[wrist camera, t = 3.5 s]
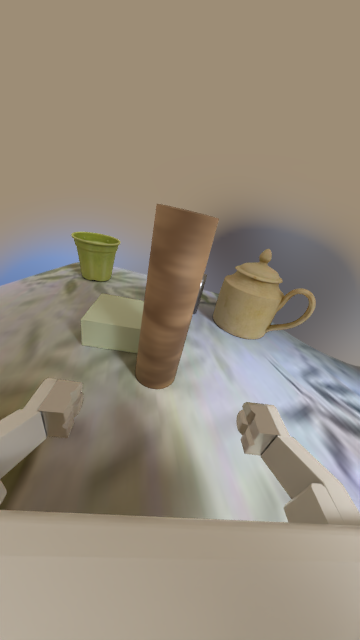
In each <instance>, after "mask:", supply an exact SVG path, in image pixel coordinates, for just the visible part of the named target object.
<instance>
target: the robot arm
mask: <svg viewBox="0 0 360 640" xmlns="http://www.w3.org/2000/svg"><path fill="white" fill-rule="evenodd" d="M82 388H83V383H81V382H75V381H68V380H61V379H54V378H47V379H45V380H44V381H43V382H42V384H41V385H40V386H39V388H38V389H37V391H36V392H35V393H34V395H33V396H32V397H31V399H30V400H29V401H28V403H27V404H26V405H25V407H24V408H23V410H22V409H18V410H17V411H15V412H13V413H12V414H10V415H8V416H7V417H5V418H3V419H2V420H0V479H1V478H2V477H3V476H4V475H5V474H6V473H8V472H9V471H10V470H11V469H12V468H13V467H14V466H16V465H17V464H18V463H19V462H20V461H21V460H22V459H23V458H25V457H26V456H27V455H28V454H29V453H30V452H31V451H33V450H34V449H35V448H36V447H37V446H38V445H39V444H41V443H42V442H43V441H44V440H45V439H46V438H47V437H59V438H68V436H69V434H70V431H71V429H72V427H73V425H74V417H75V416H77V415H78V414H79V412H80V409H81V407H82V403H83V397H84V396H83V393H82V392H81V390H82ZM242 407H243V410H241V411H239V413H238V415H237V420H236V422H237V428H238V431H239V432H240V433H241V434H242V437H241V443H242V446H243V450H244V453H245V454H252V455H260V456H261V458H262V459H263V461H264V462H265V463H266V465H267V466H268V467H269V469H270V470H271V472H272V473H273V474H274V476H275V477H276V478H277V480H278V481H279V483H280V484H281V485H282V487H283V488H284V489H285V491H286V492H287V494H288V495H289V496H290V498H291V499H292V500H290V501H289V502H288V503H287V504H285V506H284V511H285V514H286V516H287V519H288V522H289V523H288V522H265V521H243V520H220V519H198V518H175V517H153V516H130V515H108V514H85V513H63V512H40V511H18V510H0V640H360V513H359V511H358V510H357V508H356V506H355V505H354V503H353V501H352V500H351V498H350V496H349V494H348V493H347V491H346V489H345V488H344V486H343V484H342V483H340V482H339V481H338V480H337V479H336V478H335V477H334V476H333V475H332V474H331V473H330V472H329V471H328V470H327V469H326V468H325V467H324V466H323V465H322V464H321V463H320V462H319V461H317V460H316V459H315V458H314V457H313V456H312V455H311V454H310V453H309V452H308V451H307V450H306V449H305V448H304V447H303V446H302V445H301V444H300V443H299V442H298V441H297V440H295V439H294V438H293V437H290V435H289V433H288V431H287V429H286V427H285V425H284V423H283V421H282V419H281V417H280V415H279V413H278V411H277V409H276V407H275V406H274V405H266V404H259V403H250V402H246V403H244V404H243V406H242ZM6 494H7V492H6V488H5V487H4V485H3V483H2V482H1V480H0V504H1V503H2V501H3V499H4V497H5V496H6Z"/></svg>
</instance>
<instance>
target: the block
mask: <svg viewBox="0 0 360 640" xmlns="http://www.w3.org/2000/svg"><path fill="white" fill-rule="evenodd" d="M143 307H144V301H142V300H136V299H131V298H125V297H120V296H114V295H109V294H103V293H102V294H101V295H100V296H99V297H98V299H97V300H96V301H95V302H94V304H93V305H92V306H91V307H90V309H89V310H88V311H87V312H86V314H85V315H84V316H83V317H82V318H81V336H82V345H84V346H91V347H97V348H104V349H111V350H118V351H125V352H132V353H138V345H139V338H140V330H141V322H142V314H143Z"/></svg>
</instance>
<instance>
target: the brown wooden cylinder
mask: <svg viewBox="0 0 360 640" xmlns="http://www.w3.org/2000/svg"><path fill="white" fill-rule="evenodd" d="M218 221H219V219H218V218H215V217H212V216H208V215H204V214H201V213H197V212H192V211H189V210H184V209H180V208H176V207H171V206H167V205H161V204H157V206H156V214H155V221H154V230H153V237H152V246H151V252H150V261H149V268H148V276H147V283H146V291H145V299H144V307H143V314H142V322H141V330H140V338H139V345H138V353H137V361H136V369H135V375H136V378H137V380H138V381H139V382H140V383H141V384H142V385H144V386H146V387H148V388H152V389H162V388H166V387H168V386H169V385H171V384H172V383H173V381H174V379H175V376H176V372H177V369H178V365H179V361H180V358H181V354H182V351H183V347H184V343H185V340H186V336H187V333H188V329H189V325H190V322H191V318H192V314H193V311H194V307H195V304H196V300H197V296H198V293H199V289H200V286H201V282H202V278H203V275H204V271H205V268H206V264H207V260H208V257H209V253H210V250H211V246H212V242H213V239H214V235H215V232H216V228H217V224H218Z"/></svg>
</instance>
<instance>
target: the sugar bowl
mask: <svg viewBox="0 0 360 640" xmlns="http://www.w3.org/2000/svg"><path fill="white" fill-rule="evenodd" d="M271 256H272V255H271V251H270V249H266V250H265V251H264V252H262V254H261V255H260V262H259V263H244V264H242V265H240V266H236V267H235V268H236V269H237V272H236V273H234V274H233V275H228V276H226V277H225V279H224V282H223V285H222V287H221V290H220V293H219V296H218V300H217V303H216V306H215V310H214V313H213V320H214V322H215V323H216V324H217V325H218V326H219V327H220V328H221V329H223V330H224V331H226V332H228V333H230V334H232V335H234V336H237V337H241V338H245V339H259V338H262V337H263V336H264V335H265V333H267V332H269V331H274V330H285V329H290V328H293V327H296V326H298V325H300V324H302V323H303V322H305V321H306V320H307V319H308V318H309V317H310V316H311V314H312V313H313V311H314V309H315V303H316V301H315V297H314V296H313V294H312V293H311V292H310V291H308V290H306V289H295V290H292V291H291V292H289V293H288V294H286V295H285V296H284V294H283V293H282V292H281V291H280V290H279V286H278V285H279V283H282V279H281V278H280V277H279V275H278V273H277V272H276V271H275V270H273V269H272V268H270V267H269V266H268V265H267V263H268V262H269V261H271ZM296 294H303V295H305V296H306V297H307V298H308V300H309V306H308V308H307V310H306V312H305V313H304V315H303V316H301V317H300V318H299V319H297V320H296V321H293V322H291V323H287V324H277V325H270V324H271V322H272V320H273V318H274V316H275V314H276V312H277V311H278V310H280V309H281V308H282V307H283V306H284V305H285V303H286V302H287V301H288V300H289V299H290V298H291V297H292V296H294V295H296Z"/></svg>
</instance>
